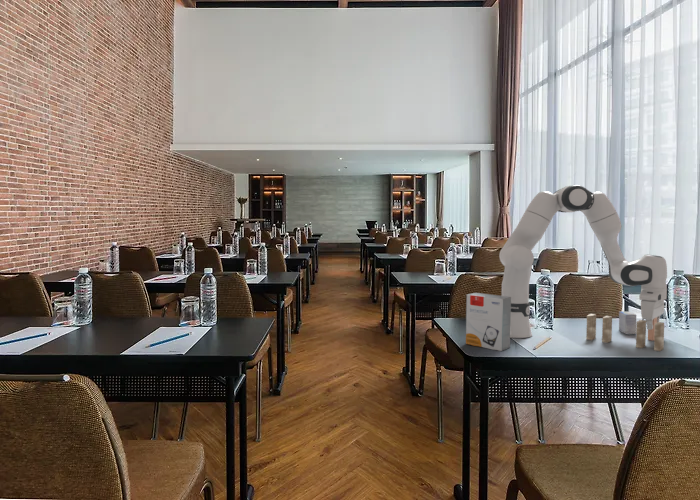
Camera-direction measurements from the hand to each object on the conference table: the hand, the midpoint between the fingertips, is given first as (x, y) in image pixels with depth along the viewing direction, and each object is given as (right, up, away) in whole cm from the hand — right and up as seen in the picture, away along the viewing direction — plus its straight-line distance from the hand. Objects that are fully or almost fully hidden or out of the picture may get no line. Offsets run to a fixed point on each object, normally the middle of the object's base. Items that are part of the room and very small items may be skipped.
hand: (652, 327), depth 193 cm
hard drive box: (-71, -6, -10) cm, 72 cm away
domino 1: (-25, -5, +1) cm, 25 cm away
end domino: (-8, -6, -16) cm, 19 cm away
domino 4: (0, -5, 0) cm, 5 cm away
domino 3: (-12, -6, -12) cm, 18 cm away
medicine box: (-3, -5, +13) cm, 14 cm away
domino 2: (-21, -5, -3) cm, 22 cm away
